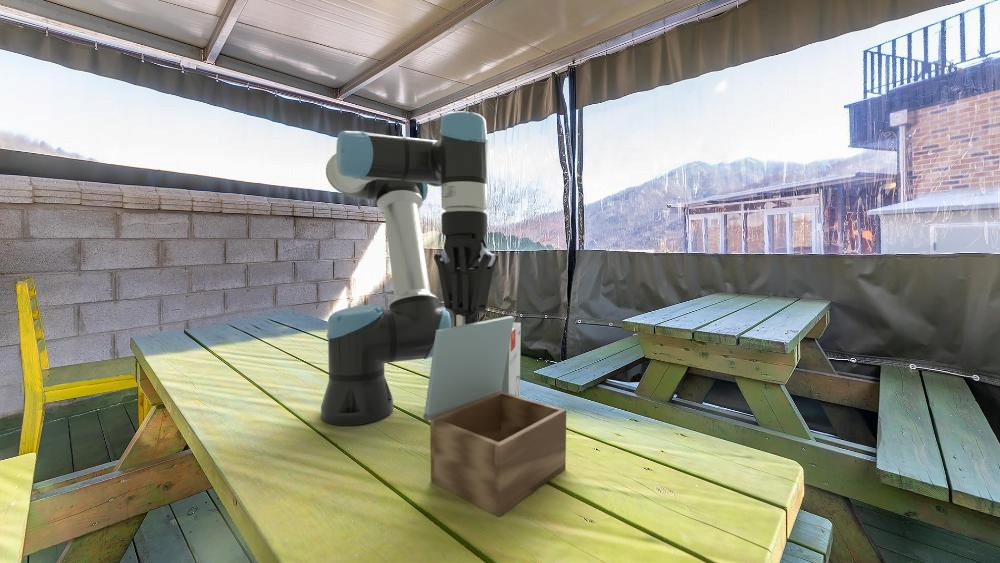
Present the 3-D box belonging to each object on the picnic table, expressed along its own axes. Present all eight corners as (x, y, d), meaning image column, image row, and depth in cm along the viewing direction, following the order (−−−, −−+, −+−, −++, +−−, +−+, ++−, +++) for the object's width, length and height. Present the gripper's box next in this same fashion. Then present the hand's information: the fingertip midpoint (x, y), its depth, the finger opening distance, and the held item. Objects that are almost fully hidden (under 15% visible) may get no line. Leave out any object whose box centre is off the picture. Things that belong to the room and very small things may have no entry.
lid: (427, 422, 67) (422, 419, 68) (501, 393, 81) (496, 390, 81) (440, 332, 64) (435, 329, 65) (515, 317, 77) (510, 315, 78)
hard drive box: (508, 436, 84) (508, 335, 83) (470, 433, 86) (470, 333, 84) (520, 407, 99) (521, 321, 98) (488, 405, 101) (488, 320, 99)
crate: (430, 481, 68) (430, 419, 67) (500, 443, 81) (500, 391, 80) (499, 517, 59) (499, 446, 58) (565, 468, 72) (566, 409, 71)
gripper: (421, 212, 73) (422, 351, 75) (477, 207, 65) (478, 363, 66) (453, 215, 79) (454, 344, 80) (509, 210, 70) (509, 354, 72)
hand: (465, 352), depth 73 cm, fingers closed
